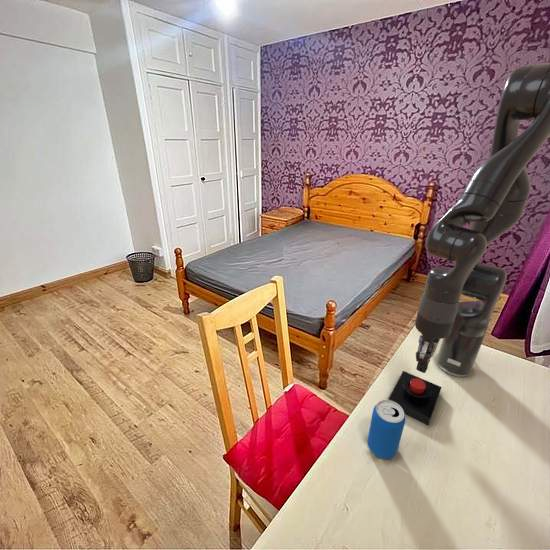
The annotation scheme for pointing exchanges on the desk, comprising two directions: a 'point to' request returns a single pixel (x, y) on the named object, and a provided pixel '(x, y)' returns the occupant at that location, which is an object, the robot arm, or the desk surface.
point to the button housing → (415, 398)
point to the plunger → (417, 386)
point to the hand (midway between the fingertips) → (421, 369)
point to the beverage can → (386, 429)
